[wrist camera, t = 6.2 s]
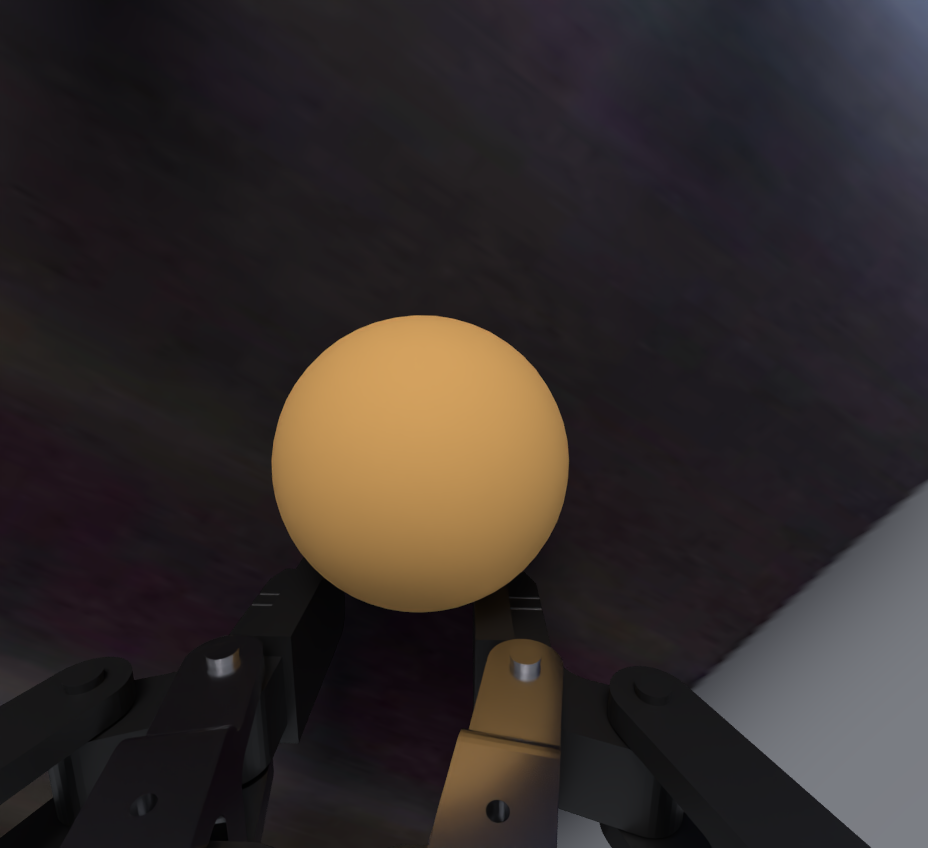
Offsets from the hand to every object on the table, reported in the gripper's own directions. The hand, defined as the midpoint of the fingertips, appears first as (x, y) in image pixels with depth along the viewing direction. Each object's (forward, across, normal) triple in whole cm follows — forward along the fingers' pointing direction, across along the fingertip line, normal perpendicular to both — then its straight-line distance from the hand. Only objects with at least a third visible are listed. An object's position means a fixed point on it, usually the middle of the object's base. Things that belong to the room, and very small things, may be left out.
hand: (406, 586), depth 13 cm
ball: (-2, -1, -4) cm, 4 cm away
